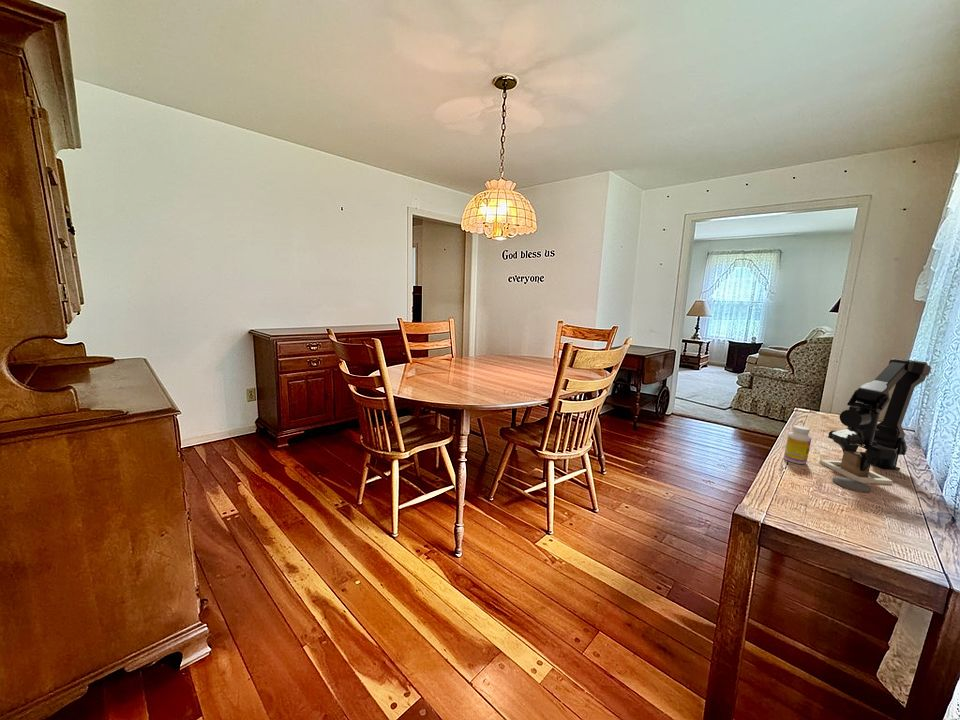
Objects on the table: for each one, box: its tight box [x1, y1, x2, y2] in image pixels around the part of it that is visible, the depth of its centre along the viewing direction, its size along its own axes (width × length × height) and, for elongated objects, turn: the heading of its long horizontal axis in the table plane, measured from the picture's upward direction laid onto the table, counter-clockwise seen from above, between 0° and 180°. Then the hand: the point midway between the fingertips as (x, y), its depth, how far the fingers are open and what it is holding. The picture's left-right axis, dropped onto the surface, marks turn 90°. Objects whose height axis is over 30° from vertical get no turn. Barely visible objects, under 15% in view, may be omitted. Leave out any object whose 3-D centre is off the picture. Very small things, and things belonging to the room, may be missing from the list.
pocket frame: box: [819, 459, 893, 485], centre depth 133 cm, size 11×15×1 cm
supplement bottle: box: [783, 424, 812, 465], centre depth 140 cm, size 7×7×13 cm
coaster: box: [832, 476, 872, 493], centre depth 124 cm, size 9×9×1 cm
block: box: [839, 450, 871, 478], centre depth 133 cm, size 5×5×7 cm
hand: (854, 467), depth 133 cm, fingers closed on block, 5 cm apart
